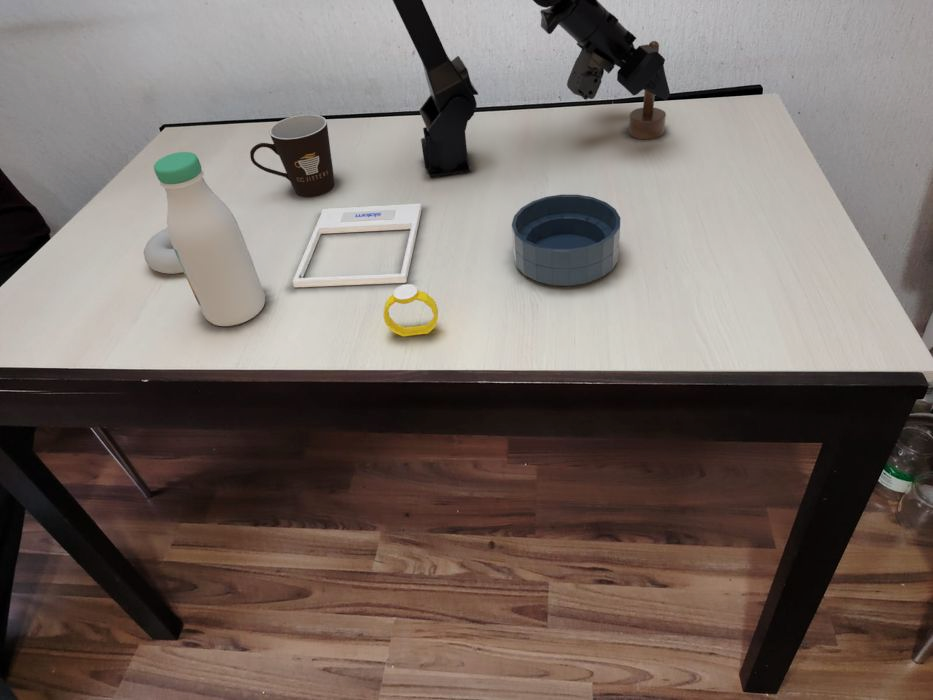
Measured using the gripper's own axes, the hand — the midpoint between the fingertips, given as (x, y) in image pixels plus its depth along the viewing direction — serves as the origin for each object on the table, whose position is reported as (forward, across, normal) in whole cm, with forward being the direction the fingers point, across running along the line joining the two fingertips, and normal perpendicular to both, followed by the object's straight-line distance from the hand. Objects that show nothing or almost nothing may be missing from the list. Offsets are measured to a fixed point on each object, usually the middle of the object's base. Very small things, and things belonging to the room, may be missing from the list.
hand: (655, 86), depth 105 cm
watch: (-28, +39, -37) cm, 61 cm away
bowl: (-13, +31, -22) cm, 40 cm away
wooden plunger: (+4, +1, -6) cm, 7 cm away
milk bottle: (-42, +27, -52) cm, 73 cm away
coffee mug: (-36, -2, -45) cm, 58 cm away
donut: (-48, +13, -58) cm, 76 cm away
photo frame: (-31, +19, -40) cm, 54 cm away
